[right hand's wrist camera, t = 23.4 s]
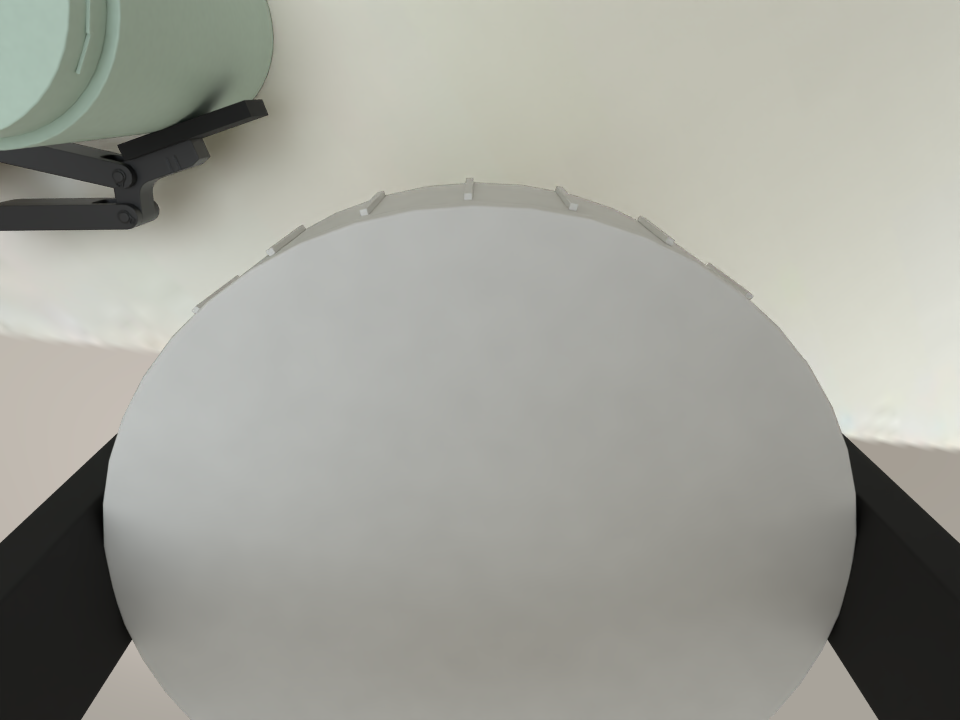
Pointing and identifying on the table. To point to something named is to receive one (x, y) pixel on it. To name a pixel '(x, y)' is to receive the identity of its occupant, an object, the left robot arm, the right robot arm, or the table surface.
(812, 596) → the lid
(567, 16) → the table surface
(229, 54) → the jar
